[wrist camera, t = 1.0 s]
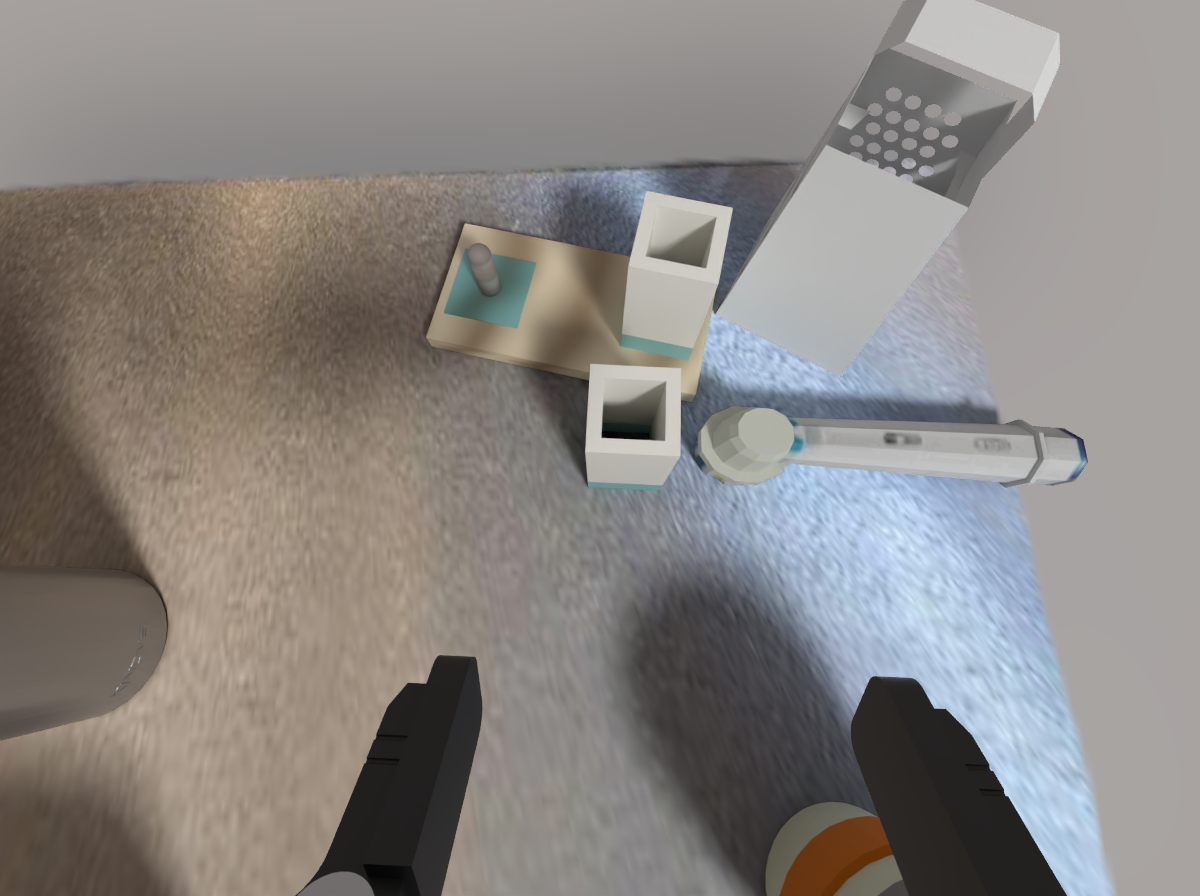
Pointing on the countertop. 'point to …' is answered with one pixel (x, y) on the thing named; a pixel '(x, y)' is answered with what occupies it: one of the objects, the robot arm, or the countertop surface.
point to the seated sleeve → (673, 273)
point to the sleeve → (632, 426)
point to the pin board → (543, 307)
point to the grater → (888, 182)
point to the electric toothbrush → (885, 448)
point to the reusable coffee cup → (833, 855)
